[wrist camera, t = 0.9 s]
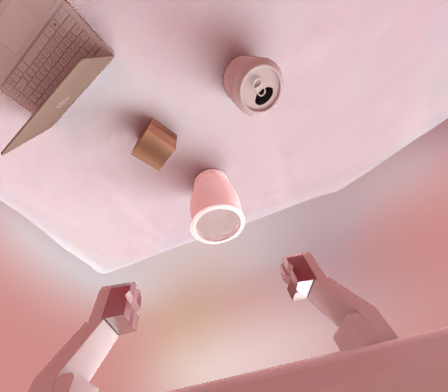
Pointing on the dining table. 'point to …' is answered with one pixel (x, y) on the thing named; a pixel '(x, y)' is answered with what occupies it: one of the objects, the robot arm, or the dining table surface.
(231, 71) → the can
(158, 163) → the walnut block
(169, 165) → the dining table surface
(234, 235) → the jar
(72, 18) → the laptop
